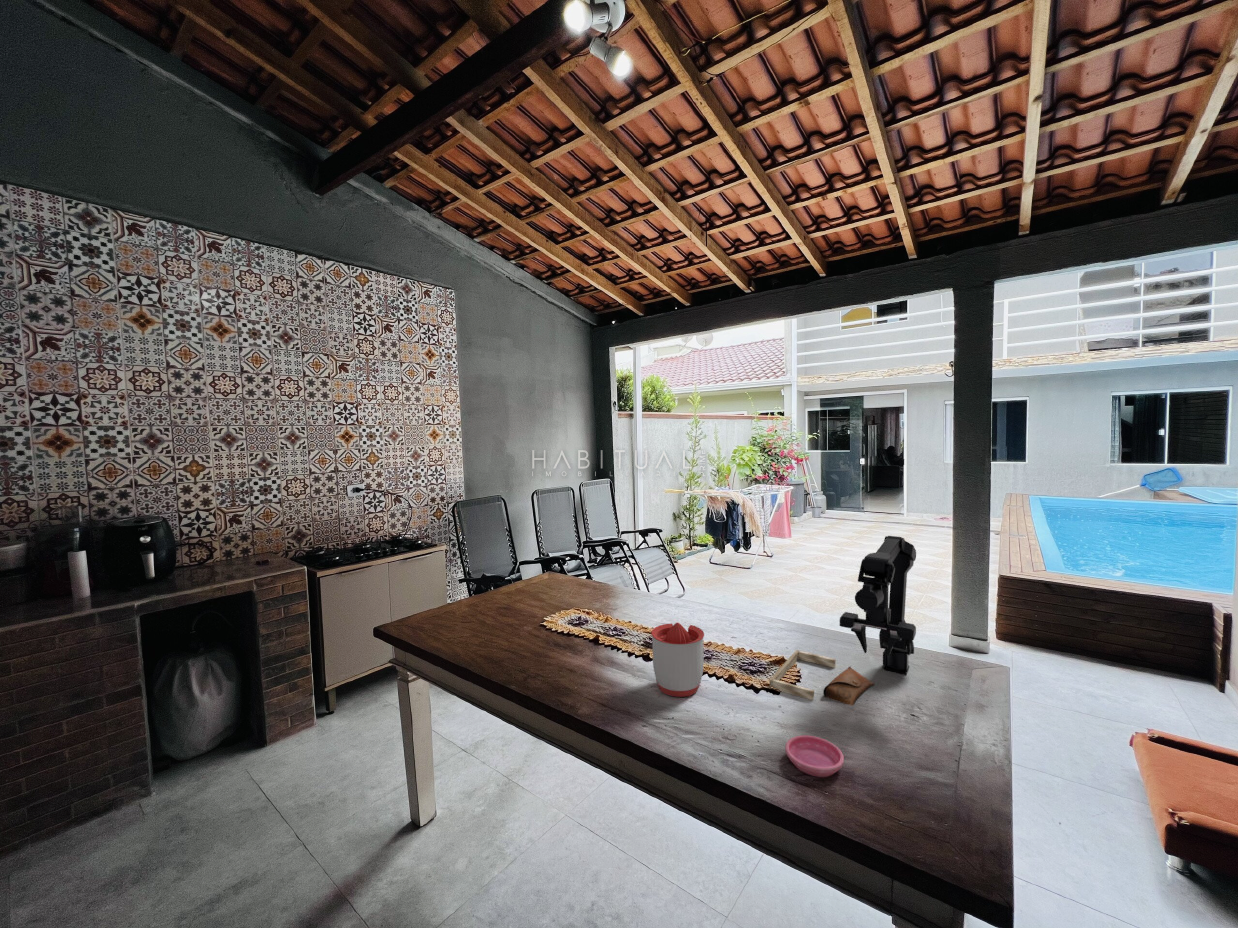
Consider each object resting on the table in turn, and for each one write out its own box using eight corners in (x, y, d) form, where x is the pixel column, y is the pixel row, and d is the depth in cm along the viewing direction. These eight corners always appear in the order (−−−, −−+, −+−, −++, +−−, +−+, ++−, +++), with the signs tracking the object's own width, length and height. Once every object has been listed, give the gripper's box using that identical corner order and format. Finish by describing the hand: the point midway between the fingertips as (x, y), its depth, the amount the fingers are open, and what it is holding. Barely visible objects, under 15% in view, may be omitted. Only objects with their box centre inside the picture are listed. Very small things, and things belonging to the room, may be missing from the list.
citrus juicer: (708, 675, 157) (707, 613, 156) (701, 704, 141) (701, 634, 140) (658, 670, 162) (657, 609, 161) (647, 698, 145) (646, 630, 144)
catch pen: (835, 666, 162) (835, 659, 162) (812, 700, 142) (812, 691, 142) (796, 657, 169) (796, 649, 169) (769, 687, 149) (769, 679, 149)
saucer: (828, 745, 121) (828, 733, 121) (854, 780, 109) (854, 766, 109) (777, 748, 121) (777, 735, 121) (797, 783, 109) (797, 769, 109)
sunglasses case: (853, 706, 138) (841, 682, 140) (831, 711, 142) (819, 687, 144) (875, 682, 151) (864, 660, 153) (854, 687, 155) (843, 666, 157)
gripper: (918, 598, 143) (918, 652, 144) (848, 588, 154) (847, 638, 155) (913, 610, 134) (912, 667, 135) (839, 598, 145) (838, 650, 146)
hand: (876, 654), depth 143 cm, fingers open, 5 cm apart
